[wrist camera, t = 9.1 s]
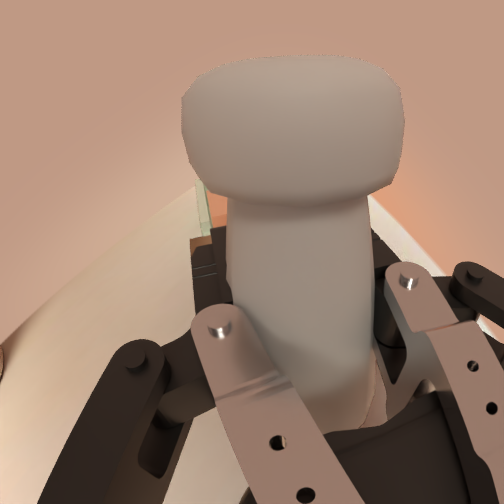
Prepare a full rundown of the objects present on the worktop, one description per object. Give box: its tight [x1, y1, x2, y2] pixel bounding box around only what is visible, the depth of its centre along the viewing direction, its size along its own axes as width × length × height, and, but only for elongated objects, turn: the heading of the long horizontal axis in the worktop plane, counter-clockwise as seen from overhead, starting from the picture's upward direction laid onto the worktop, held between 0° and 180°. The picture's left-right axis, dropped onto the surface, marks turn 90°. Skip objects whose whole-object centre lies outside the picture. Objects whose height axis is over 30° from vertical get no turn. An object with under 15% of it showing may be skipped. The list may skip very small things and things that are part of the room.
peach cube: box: [206, 190, 227, 228], centre depth 22 cm, size 4×4×4 cm
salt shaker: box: [182, 55, 405, 435], centre depth 9 cm, size 6×6×13 cm
